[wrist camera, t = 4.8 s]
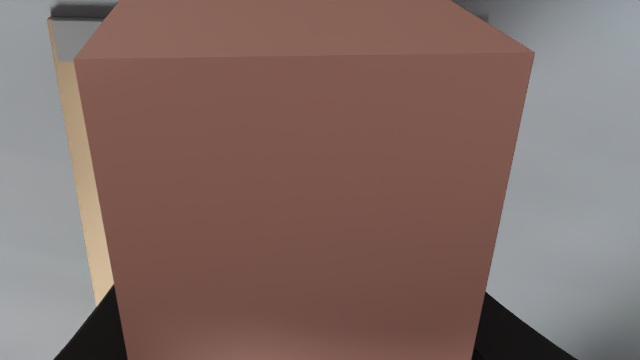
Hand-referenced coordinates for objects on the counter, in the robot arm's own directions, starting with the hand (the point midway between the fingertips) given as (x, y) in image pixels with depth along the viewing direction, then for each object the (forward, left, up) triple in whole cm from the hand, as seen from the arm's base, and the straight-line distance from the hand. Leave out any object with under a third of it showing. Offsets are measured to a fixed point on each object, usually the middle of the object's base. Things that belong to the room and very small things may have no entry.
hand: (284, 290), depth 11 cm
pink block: (0, 0, -1) cm, 1 cm away
